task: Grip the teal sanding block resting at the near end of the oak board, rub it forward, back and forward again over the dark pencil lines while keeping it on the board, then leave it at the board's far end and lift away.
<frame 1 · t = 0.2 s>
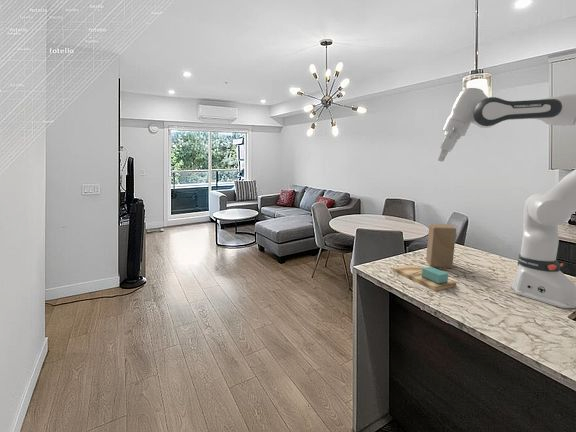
hand: (440, 161, 133), 51 cm above the countertop, tool tilted 20°, fingers open, 8 cm apart
oak board: (422, 277, 139), on the countertop
wooden block: (438, 265, 157), on the countertop
sanding block: (434, 279, 133), point 2 cm above the countertop, touching oak board
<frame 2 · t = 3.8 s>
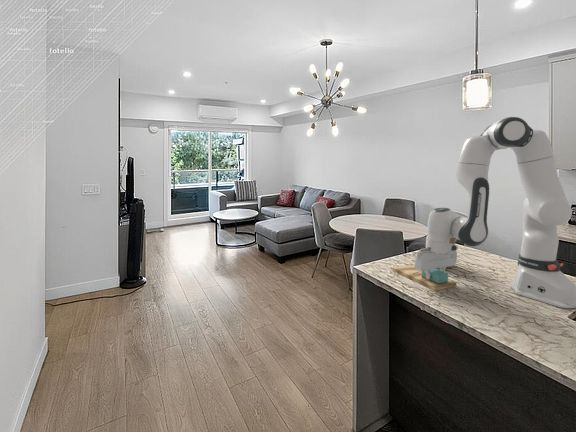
hand: (434, 277, 133), 2 cm above the countertop, tool pointing down, fingers closed on sanding block, 5 cm apart
sanding block: (434, 279, 133), point 2 cm above the countertop, touching gripper, oak board
everything else where it was.
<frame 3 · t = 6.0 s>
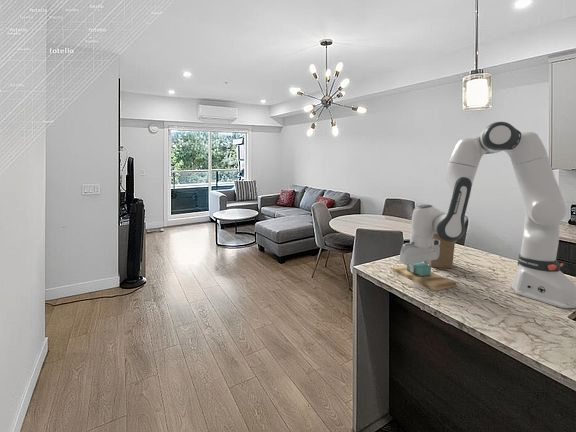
hand: (418, 270, 141), 3 cm above the countertop, tool pointing down, fingers closed on sanding block, 5 cm apart
sanding block: (418, 272, 141), point 2 cm above the countertop, touching gripper
everything else where it was.
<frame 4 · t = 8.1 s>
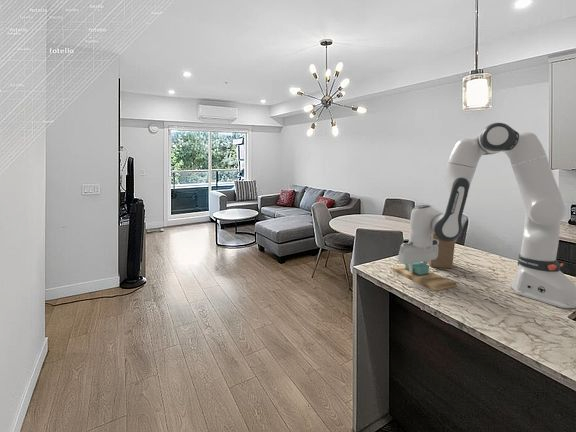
hand: (417, 270, 142), 2 cm above the countertop, tool pointing down, fingers closed on sanding block, 5 cm apart
sanding block: (416, 271, 143), point 2 cm above the countertop, touching gripper
everything else where it was.
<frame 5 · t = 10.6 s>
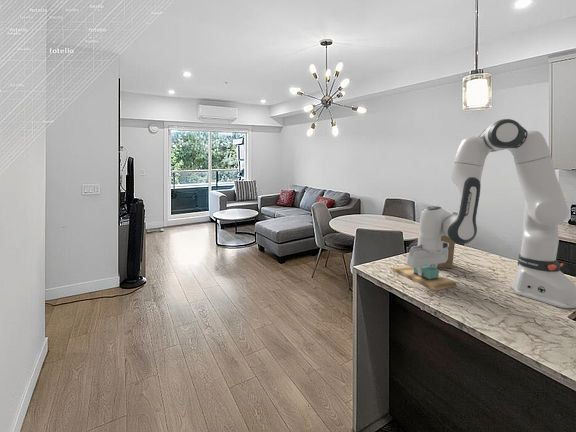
hand: (426, 274, 137), 2 cm above the countertop, tool pointing down, fingers closed on sanding block, 5 cm apart
sanding block: (425, 275, 137), point 2 cm above the countertop, touching gripper
everything else where it was.
when the fingers open (2 cm above the countertop, at t = 12.7 s): sanding block stays where it is, resting on oak board.
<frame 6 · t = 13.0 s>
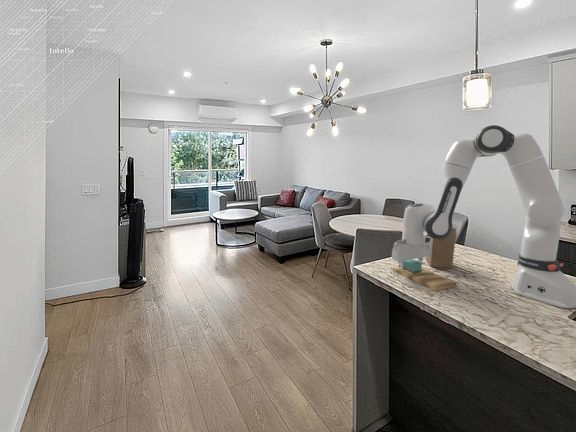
hand: (410, 267, 146), 2 cm above the countertop, tool pointing down, fingers open, 8 cm apart
sanding block: (409, 269, 146), point 2 cm above the countertop, touching oak board
everything else where it was.
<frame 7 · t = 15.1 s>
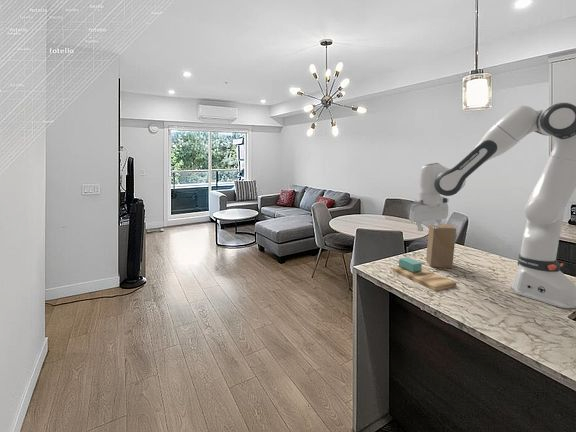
hand: (428, 229, 143), 20 cm above the countertop, tool pointing down, fingers open, 8 cm apart
nothing on the countertop moved.
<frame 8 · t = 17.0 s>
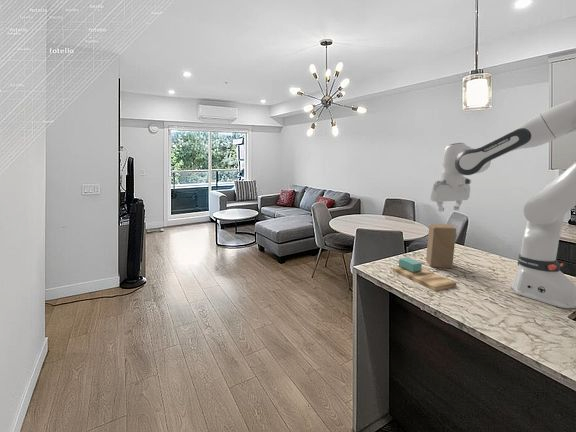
hand: (448, 210, 142), 29 cm above the countertop, tool pointing down, fingers open, 8 cm apart
nothing on the countertop moved.
at the end: sanding block 0.3 cm from the target spot on the oak board, point 1.5 cm above the oak board's base; sanding block tilted 0°; the gripper is holding nothing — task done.
